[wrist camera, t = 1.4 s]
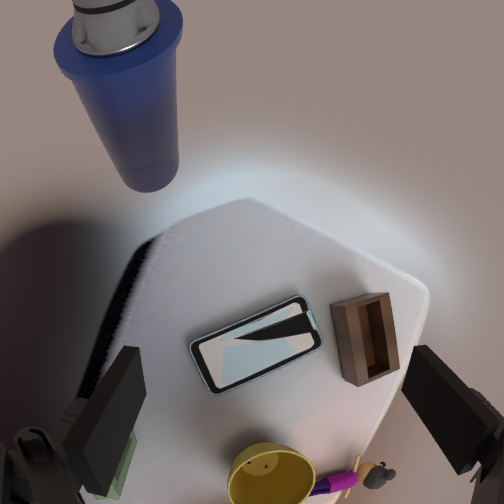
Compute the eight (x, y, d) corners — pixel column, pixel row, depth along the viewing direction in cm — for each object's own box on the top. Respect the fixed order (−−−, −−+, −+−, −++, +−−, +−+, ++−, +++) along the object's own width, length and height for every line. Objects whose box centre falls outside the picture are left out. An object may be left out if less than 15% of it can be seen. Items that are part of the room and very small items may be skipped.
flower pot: (267, 411, 36) (283, 434, 29) (310, 457, 36) (331, 481, 29) (204, 455, 33) (208, 485, 26) (252, 497, 34) (263, 527, 27)
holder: (328, 305, 39) (344, 306, 35) (370, 292, 40) (388, 292, 36) (341, 378, 38) (358, 387, 34) (381, 362, 40) (400, 368, 35)
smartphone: (185, 343, 34) (303, 291, 37) (185, 341, 35) (301, 291, 38) (212, 398, 34) (325, 346, 37) (211, 395, 35) (322, 344, 38)
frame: (99, 387, 32) (62, 427, 20) (117, 385, 33) (87, 426, 20) (119, 444, 32) (95, 499, 19) (137, 442, 32) (119, 499, 20)
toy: (283, 504, 36) (371, 480, 38) (293, 530, 30) (386, 501, 33) (287, 462, 34) (386, 437, 37) (300, 491, 29) (405, 458, 32)
